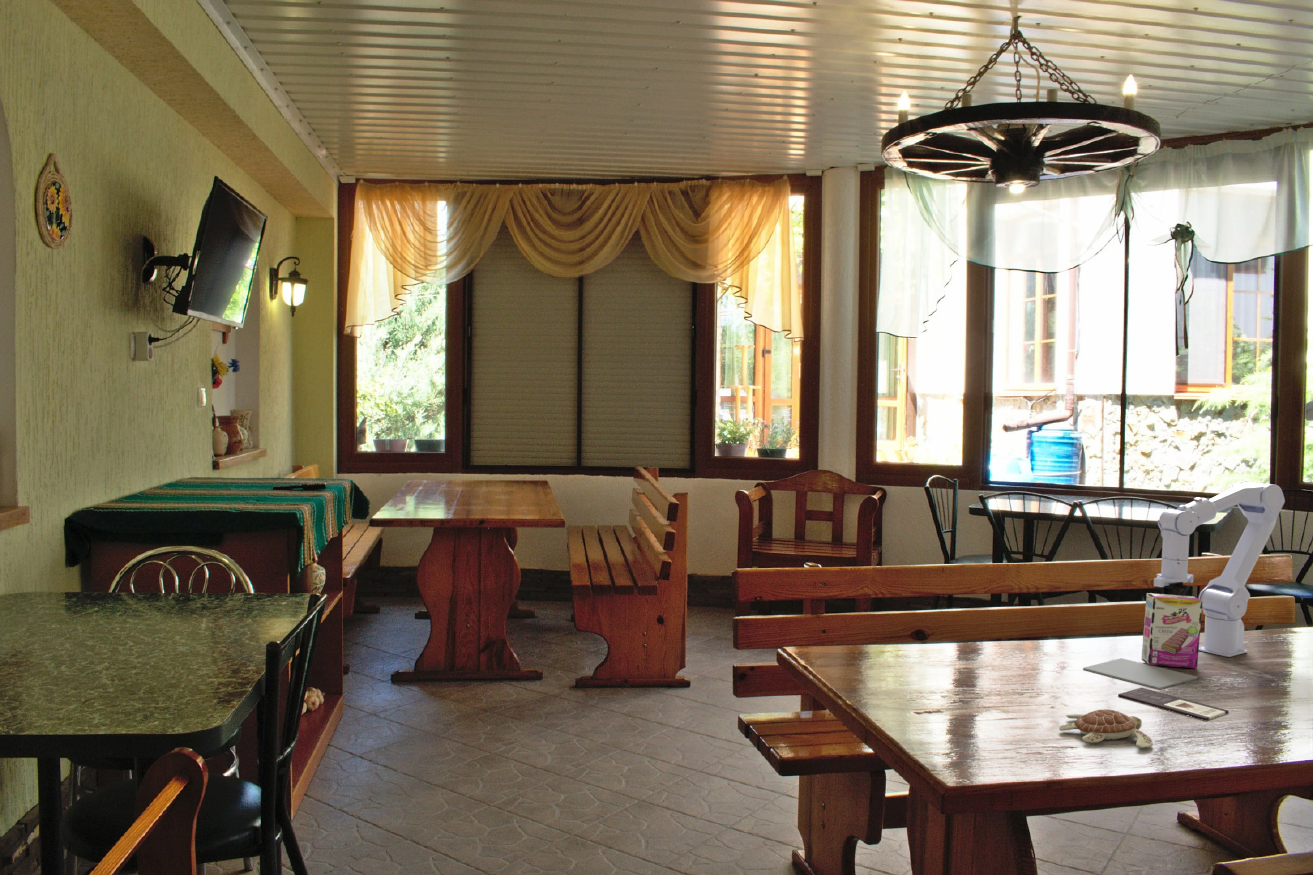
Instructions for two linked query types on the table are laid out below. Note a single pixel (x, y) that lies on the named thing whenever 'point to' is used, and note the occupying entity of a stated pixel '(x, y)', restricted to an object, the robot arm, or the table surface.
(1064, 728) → the decorative turtle
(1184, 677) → the rubber mat
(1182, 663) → the candy bar box
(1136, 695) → the chocolate bar
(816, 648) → the table surface
